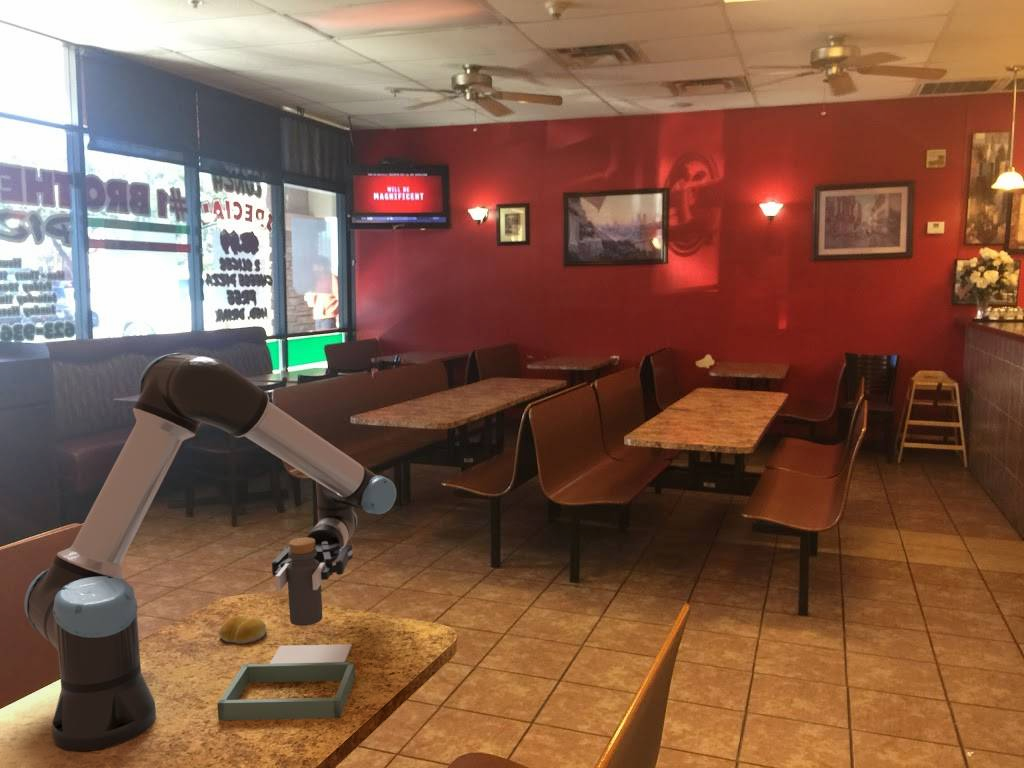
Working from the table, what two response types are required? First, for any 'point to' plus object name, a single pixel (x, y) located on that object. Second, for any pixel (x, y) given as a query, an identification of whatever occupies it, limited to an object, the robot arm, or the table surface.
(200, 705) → the table surface
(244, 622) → the bread roll
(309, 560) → the bottle
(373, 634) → the table surface
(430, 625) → the table surface
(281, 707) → the green rectangular frame
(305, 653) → the tile
